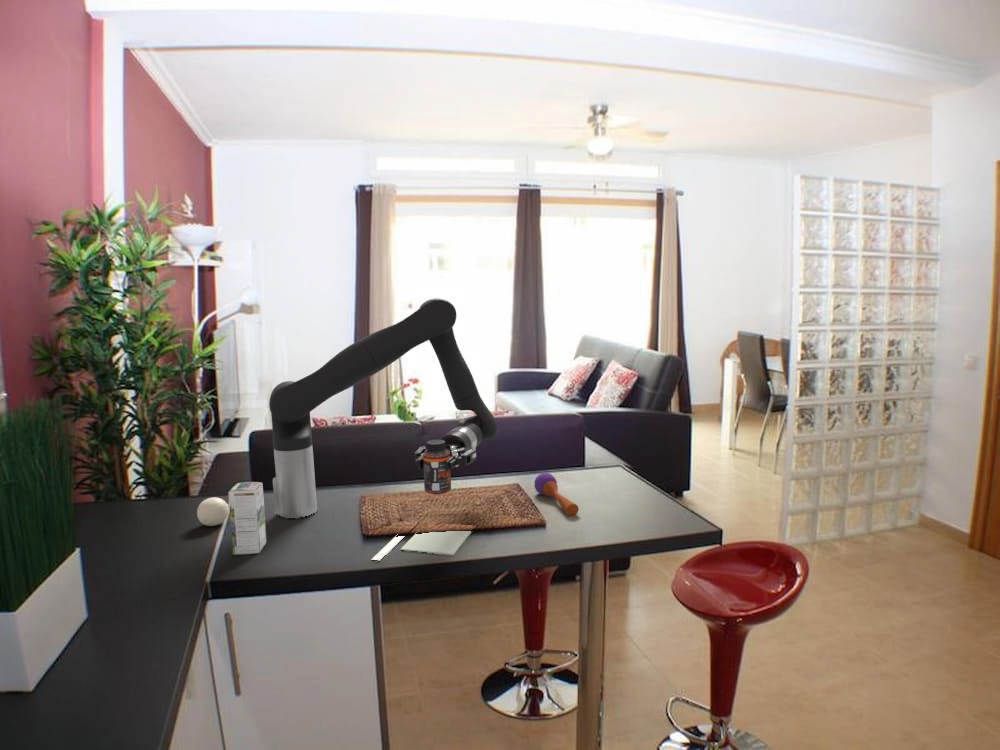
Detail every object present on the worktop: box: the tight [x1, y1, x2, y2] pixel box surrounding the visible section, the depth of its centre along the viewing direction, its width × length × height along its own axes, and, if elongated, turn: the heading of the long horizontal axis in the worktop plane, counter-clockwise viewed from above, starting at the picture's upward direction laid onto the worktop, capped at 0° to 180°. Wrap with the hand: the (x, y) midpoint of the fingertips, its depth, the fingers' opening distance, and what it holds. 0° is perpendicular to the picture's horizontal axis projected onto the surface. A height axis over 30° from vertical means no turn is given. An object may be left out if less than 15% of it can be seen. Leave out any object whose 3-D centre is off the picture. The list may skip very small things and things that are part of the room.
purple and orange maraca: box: [534, 472, 579, 517], centre depth 168 cm, size 6×6×20 cm
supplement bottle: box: [423, 439, 452, 496], centre depth 145 cm, size 6×6×11 cm
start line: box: [371, 535, 406, 562], centre depth 147 cm, size 2×22×1 cm, turn 165°
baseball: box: [196, 496, 230, 527], centre depth 159 cm, size 7×7×7 cm
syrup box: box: [228, 481, 268, 556], centre depth 143 cm, size 6×6×14 cm
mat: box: [400, 531, 472, 556], centre depth 147 cm, size 12×16×1 cm
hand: (432, 465), depth 142 cm, fingers closed on supplement bottle, 6 cm apart
